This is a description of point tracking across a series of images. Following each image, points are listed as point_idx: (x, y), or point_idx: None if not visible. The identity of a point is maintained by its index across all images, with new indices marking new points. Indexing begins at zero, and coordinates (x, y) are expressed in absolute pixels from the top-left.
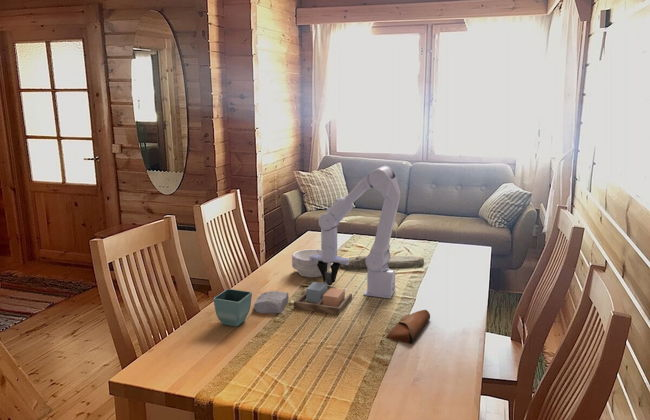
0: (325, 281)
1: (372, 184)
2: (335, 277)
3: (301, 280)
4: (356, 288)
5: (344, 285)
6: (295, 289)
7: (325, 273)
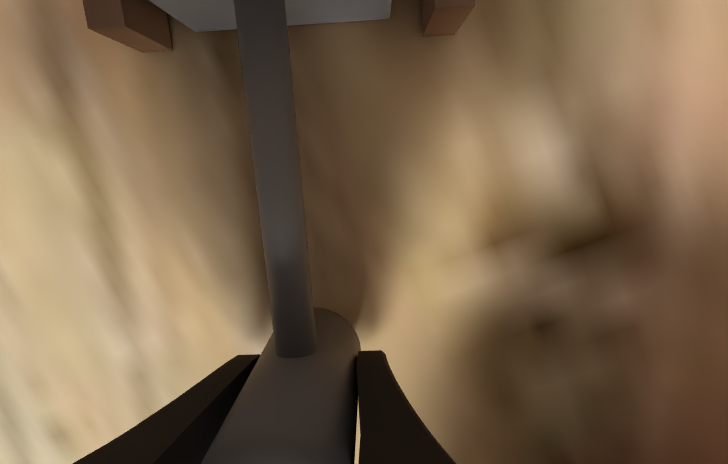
0: (273, 239)
1: None
2: None
3: (695, 393)
4: (20, 384)
5: None
6: (691, 86)
7: (327, 443)
